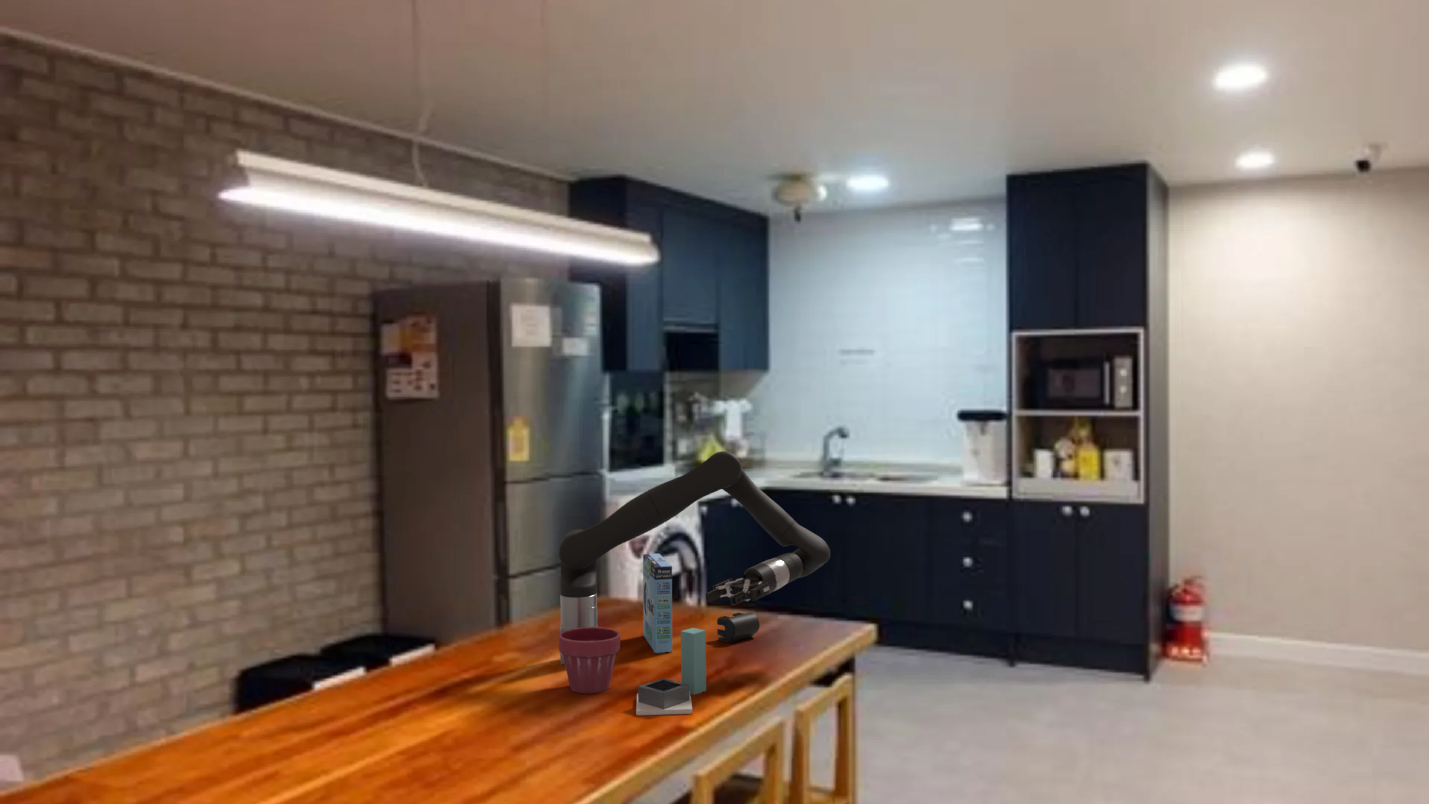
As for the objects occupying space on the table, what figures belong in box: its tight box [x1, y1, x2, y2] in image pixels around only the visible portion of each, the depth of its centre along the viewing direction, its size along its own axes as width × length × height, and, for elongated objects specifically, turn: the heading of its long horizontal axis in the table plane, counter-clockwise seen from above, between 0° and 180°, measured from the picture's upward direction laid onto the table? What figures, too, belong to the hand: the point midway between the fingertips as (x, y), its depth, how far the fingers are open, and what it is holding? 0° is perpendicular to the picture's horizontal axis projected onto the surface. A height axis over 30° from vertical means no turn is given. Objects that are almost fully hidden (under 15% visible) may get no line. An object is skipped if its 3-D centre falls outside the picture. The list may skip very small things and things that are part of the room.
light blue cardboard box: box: [642, 553, 673, 654], centre depth 288 cm, size 20×5×23 cm, turn 13°
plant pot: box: [558, 626, 621, 694], centre depth 249 cm, size 14×14×13 cm
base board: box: [635, 693, 693, 716], centre depth 235 cm, size 12×12×1 cm
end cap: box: [716, 611, 760, 643], centre depth 292 cm, size 10×7×7 cm
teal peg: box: [680, 627, 707, 696], centre depth 246 cm, size 4×4×14 cm
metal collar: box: [637, 677, 691, 709], centre depth 235 cm, size 8×8×4 cm
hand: (719, 600), depth 250 cm, fingers open, 8 cm apart
